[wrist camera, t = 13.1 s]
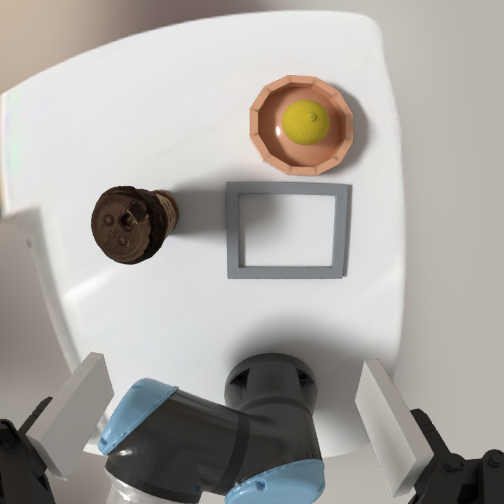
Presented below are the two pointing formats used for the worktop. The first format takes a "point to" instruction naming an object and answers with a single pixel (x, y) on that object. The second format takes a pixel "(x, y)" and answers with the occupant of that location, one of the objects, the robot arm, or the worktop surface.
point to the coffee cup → (133, 223)
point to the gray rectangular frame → (286, 272)
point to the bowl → (275, 140)
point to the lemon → (306, 122)
